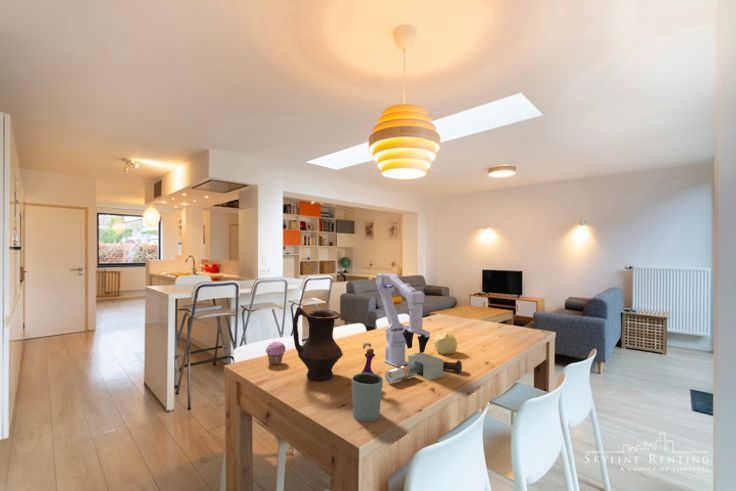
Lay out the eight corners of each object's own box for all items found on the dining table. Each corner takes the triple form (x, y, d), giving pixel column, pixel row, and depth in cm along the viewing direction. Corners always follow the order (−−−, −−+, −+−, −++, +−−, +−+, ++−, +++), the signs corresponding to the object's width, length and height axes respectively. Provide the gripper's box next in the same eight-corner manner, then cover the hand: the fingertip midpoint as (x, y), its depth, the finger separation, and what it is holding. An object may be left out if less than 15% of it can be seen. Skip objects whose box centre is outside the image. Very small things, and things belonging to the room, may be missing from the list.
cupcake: (273, 359, 163) (273, 338, 163) (289, 361, 160) (289, 340, 160) (262, 365, 154) (262, 343, 154) (278, 367, 151) (278, 345, 152)
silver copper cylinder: (384, 381, 136) (384, 367, 136) (409, 374, 144) (409, 361, 144) (393, 386, 131) (393, 371, 131) (418, 378, 139) (418, 365, 140)
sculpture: (432, 349, 182) (432, 329, 183) (454, 349, 182) (454, 329, 182) (435, 355, 171) (435, 334, 171) (459, 356, 171) (459, 335, 171)
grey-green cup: (347, 410, 111) (347, 374, 111) (375, 406, 115) (375, 370, 115) (357, 425, 102) (357, 386, 102) (387, 420, 105) (388, 381, 105)
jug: (335, 366, 153) (336, 301, 154) (347, 381, 136) (348, 307, 137) (288, 372, 146) (289, 303, 146) (295, 388, 129) (296, 310, 129)
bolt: (428, 370, 155) (461, 375, 148) (425, 368, 151) (458, 372, 144) (429, 358, 158) (462, 362, 151) (426, 355, 154) (459, 359, 147)
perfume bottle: (365, 384, 133) (366, 339, 134) (380, 389, 129) (381, 342, 129) (353, 390, 128) (353, 342, 128) (368, 395, 123) (368, 346, 123)
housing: (408, 371, 149) (408, 355, 149) (420, 367, 154) (421, 352, 154) (430, 380, 138) (430, 363, 138) (443, 376, 143) (443, 359, 143)
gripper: (398, 317, 150) (397, 347, 150) (421, 323, 139) (421, 356, 138) (409, 315, 155) (409, 345, 154) (433, 321, 143) (432, 353, 143)
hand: (415, 350), depth 147 cm, fingers open, 7 cm apart
